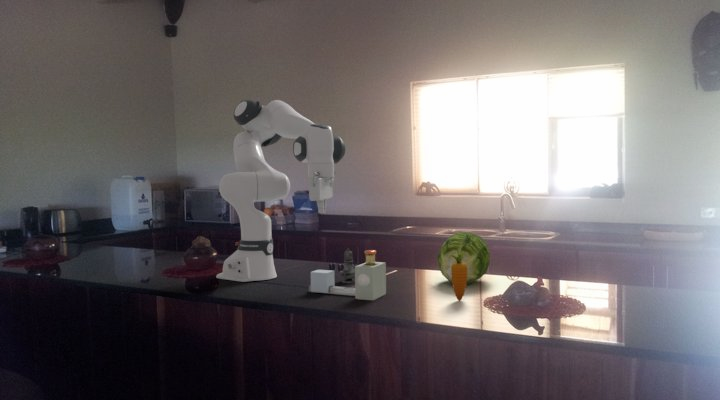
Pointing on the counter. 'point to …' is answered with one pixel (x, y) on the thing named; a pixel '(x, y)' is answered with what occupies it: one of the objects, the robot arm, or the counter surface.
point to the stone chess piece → (348, 268)
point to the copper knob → (370, 257)
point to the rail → (339, 290)
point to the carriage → (322, 280)
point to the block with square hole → (370, 281)
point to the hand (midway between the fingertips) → (321, 213)
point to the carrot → (459, 275)
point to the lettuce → (465, 255)
